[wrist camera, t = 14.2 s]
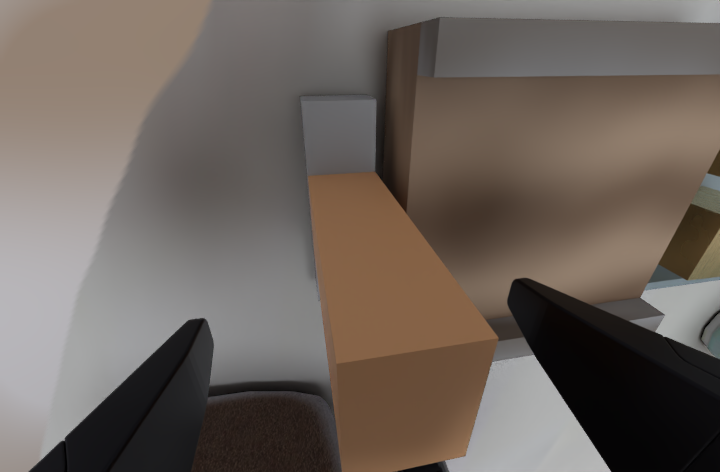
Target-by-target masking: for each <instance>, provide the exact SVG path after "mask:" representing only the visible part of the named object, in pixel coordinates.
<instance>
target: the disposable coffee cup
mask: <svg viewBox="0 0 720 472" xmlns="http://www.w3.org/2000/svg"><path fill="white" fill-rule="evenodd" d="M701 340H702V341H703V342H704V344H705V345H706V346H707V347H708V349H709V350H710V351H711V353H712V354H713V355H714V356H715V357H717V358H718V359H720V313H719V314H718V315H716V317H715V318H714V319H713V320H712V321H711V322H710V324H709V325H708V326H707V327H706V328H705V331H704V334H703V336H702V339H701Z"/></svg>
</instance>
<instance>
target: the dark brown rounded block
mask: <svg viewBox="0 0 720 472" xmlns="http://www.w3.org/2000/svg"><path fill="white" fill-rule="evenodd" d="M191 472H342V468H341V460H340V452H339V445H338V437H337V429H336V421H335V418H334V416H333V414H332V412H331V410H330V408H329V406H328V404H327V402H326V401H325V400H324V399H322V398H321V397H320V396H316V395H311V394H305V393H299V392H293V391H248V392H241V393H234V394H227V395H220V396H213V397H208V399H207V405H206V410H205V415H204V419H203V423H202V427H201V432H200V436H199V440H198V444H197V448H196V453H195V457H194V461H193V465H192V469H191Z"/></svg>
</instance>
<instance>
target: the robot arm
mask: <svg viewBox="0 0 720 472" xmlns="http://www.w3.org/2000/svg"><path fill="white" fill-rule="evenodd" d="M507 305H508V308H509V310H510V311H511V313H512V315H513V317H514V319H515V321H516V323H517V325H518V327H519V328H520V330H521V332H522V334H523V336H524V338H525V340H526V342H527V344H528V345H529V347H530V349H531V351H532V352H533V354H534V355H535V357H536V358H537V360H538V361H539V363H540V364H541V366H542V368H543V369H544V371H545V372H546V374H547V375H548V377H549V378H550V380H551V381H552V383H553V384H554V386H555V387H556V389H557V390H558V392H559V393H560V395H561V396H562V398H563V399H564V401H565V402H566V404H567V405H568V407H569V408H570V410H571V411H572V413H573V414H574V416H575V417H576V419H577V421H578V422H579V424H580V425H581V427H582V428H583V430H584V431H585V433H586V434H587V436H588V437H589V439H590V440H591V442H592V443H593V445H594V446H595V448H596V449H597V451H598V452H599V454H600V455H601V457H602V458H603V460H604V461H605V463H606V464H607V466H608V467H609V469H610V470H611V472H720V359H718V358H715V357H713V356H710V355H708V354H705V353H703V352H701V351H698V350H696V349H693V348H691V347H689V346H686V345H684V344H681V343H679V342H677V341H674V340H672V339H670V338H667V337H663V336H662V335H660V334H658V333H656V332H653V331H651V330H649V329H646V328H644V327H642V326H639V325H637V324H635V323H632V322H630V321H628V320H625V319H623V318H621V317H618V316H616V315H614V314H611V313H609V312H607V311H604V310H602V309H600V308H597V307H595V306H593V305H590V304H588V303H586V302H583V301H581V300H579V299H576V298H574V297H572V296H569V295H567V294H565V293H562V292H560V291H558V290H555V289H553V288H551V287H548V286H546V285H544V284H541V283H539V282H537V281H534V280H532V279H530V278H518V279H514V280H513V281H512V284H511V287H510V291H509V294H508V298H507ZM213 349H214V343H213V338H212V335H211V332H210V328H209V325H208V322H207V320H206V319H204V318H199V319H191V320H188V321H187V322H186V323H185V324H184V325H183V326H182V327H181V328H179V329H178V330H177V331H176V332H175V333H174V334H173V335H172V336H171V337H170V338H169V339H168V340H167V341H166V342H165V343H164V344H163V345H162V346H161V347H160V348H158V349H157V350H156V351H155V352H154V353H153V354H152V355H151V356H150V357H149V358H148V359H147V360H146V361H145V362H144V363H143V364H142V365H141V366H140V367H139V368H137V369H136V370H135V371H134V372H133V373H132V374H131V375H130V376H129V377H128V378H127V379H126V380H125V381H124V382H123V383H122V384H121V385H120V386H119V387H118V388H116V389H115V390H114V391H113V392H112V393H111V394H110V395H109V396H108V397H107V398H106V399H105V400H104V401H103V402H102V403H101V404H100V405H99V406H98V407H97V408H95V409H94V410H93V411H92V412H91V413H90V414H89V415H88V416H87V417H86V418H85V419H84V420H83V421H82V422H81V423H80V424H79V425H78V426H77V427H76V428H74V429H73V430H72V431H71V432H70V433H69V434H68V435H67V436H66V437H65V441H61V442H60V443H59V444H57V445H56V446H55V447H54V448H53V449H52V450H51V451H50V452H49V453H48V454H47V455H46V456H45V457H44V458H43V459H42V460H41V461H40V462H38V463H37V464H36V465H35V466H34V467H33V468H32V469H31V470H30V471H29V472H191V469H192V465H193V461H194V457H195V453H196V448H197V444H198V440H199V436H200V432H201V427H202V423H203V419H204V415H205V410H206V405H207V399H208V392H209V383H210V375H211V366H212V358H213ZM395 472H449V470H448V468H447V465H446V462H445V461H440V462H436V463H431V464H427V465H422V466H418V467H413V468H409V469H404V470H399V471H395Z"/></svg>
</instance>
